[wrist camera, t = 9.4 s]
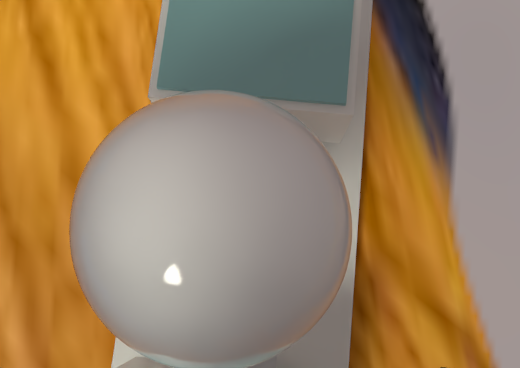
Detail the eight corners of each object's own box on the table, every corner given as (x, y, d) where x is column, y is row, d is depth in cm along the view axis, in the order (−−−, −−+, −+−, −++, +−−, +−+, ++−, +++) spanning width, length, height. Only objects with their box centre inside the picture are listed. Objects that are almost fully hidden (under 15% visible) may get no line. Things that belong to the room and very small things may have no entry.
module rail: (331, 592, 18) (350, 701, 13) (87, 561, 18) (24, 654, 14) (371, -9, 22) (396, -84, 18) (174, -24, 23) (149, -102, 18)
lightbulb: (349, 300, 19) (431, 337, 8) (188, 352, 19) (52, 459, 8) (295, 145, 20) (304, -7, 9) (145, 194, 20) (-26, 100, 9)
